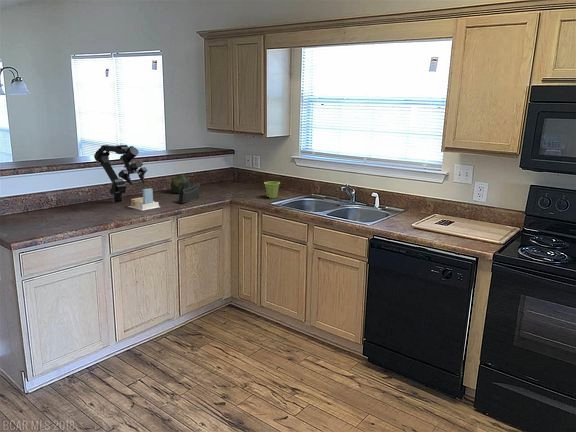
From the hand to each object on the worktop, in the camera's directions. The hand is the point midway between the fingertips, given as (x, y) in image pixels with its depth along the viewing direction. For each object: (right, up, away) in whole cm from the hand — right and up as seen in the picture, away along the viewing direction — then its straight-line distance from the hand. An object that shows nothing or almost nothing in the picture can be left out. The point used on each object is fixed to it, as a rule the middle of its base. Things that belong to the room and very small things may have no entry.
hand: (138, 184), depth 292 cm
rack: (+4, -16, -1) cm, 17 cm away
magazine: (+28, -10, +29) cm, 41 cm away
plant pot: (+85, -7, +46) cm, 96 cm away
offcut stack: (+1, -14, +1) cm, 14 cm away
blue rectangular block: (+8, -15, -4) cm, 18 cm away
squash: (+14, -3, +54) cm, 56 cm away
